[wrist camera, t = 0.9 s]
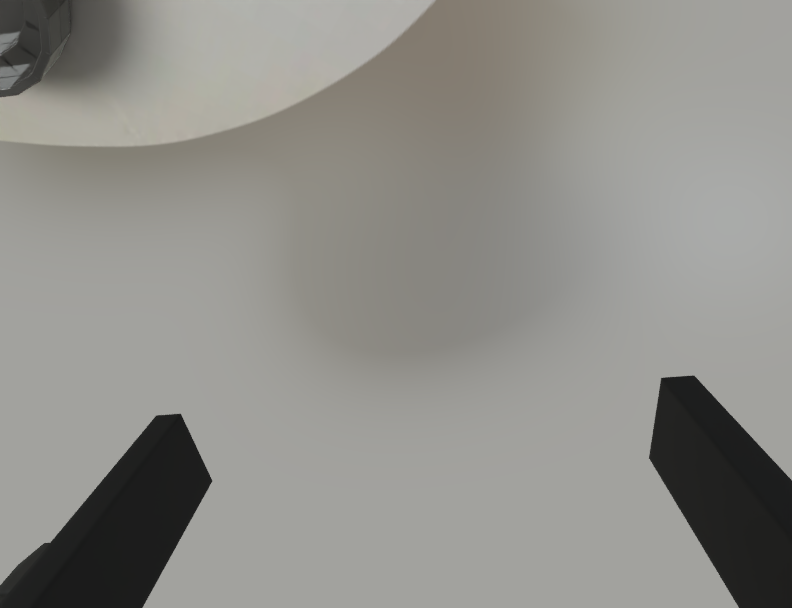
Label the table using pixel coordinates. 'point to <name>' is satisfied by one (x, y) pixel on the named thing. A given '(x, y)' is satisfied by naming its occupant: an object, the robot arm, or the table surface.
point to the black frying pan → (30, 41)
